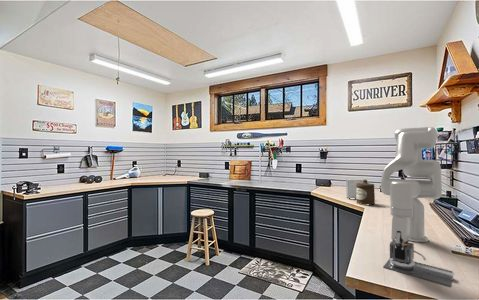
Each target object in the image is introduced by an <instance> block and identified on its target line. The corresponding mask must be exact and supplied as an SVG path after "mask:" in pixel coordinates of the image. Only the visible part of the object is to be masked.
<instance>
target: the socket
mask: <svg viewBox="0 0 479 300" xmlns="http://www.w3.org/2000/svg"><path fill="white" fill-rule="evenodd" d="M395 241H396V239H395V240H391V241H390V243H389V259H390V258H391V259H392V258H393V259H395V260H399V261H403V262H407V263H408V254H409V263H410V264H411V262H412V260H413V261H414V257H415V252H414V251H415V245H414V243H413V242H409V241H408V242H405V243H404V250H405V260H401V259H397V258H395ZM400 244H401V245H402V243H400Z"/></svg>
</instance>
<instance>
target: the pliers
mask: <svg viewBox="0 0 479 300" xmlns="http://www.w3.org/2000/svg"><path fill="white" fill-rule="evenodd" d="M414 254H417V255H419V256H421V258H422V259H423V261H426V257H425V256H424V255H423V254H422V253H420V252H418V251H416V250H414Z"/></svg>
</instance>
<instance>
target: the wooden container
mask: <svg viewBox="0 0 479 300" xmlns="http://www.w3.org/2000/svg"><path fill="white" fill-rule="evenodd" d="M356 187H357V193H356V198H357V199H356V204H358V203H361V204H376V201H375V197H376V196H375V195H376V194H375V184H374V183H371V182H370V183H369V182H368V179H363V183H357V184H356ZM361 204H360V205H361Z"/></svg>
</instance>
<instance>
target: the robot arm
mask: <svg viewBox="0 0 479 300" xmlns="http://www.w3.org/2000/svg"><path fill="white" fill-rule="evenodd" d="M394 139H395V141H396V148H395V154H394V155H395V156H394V157H395V158H394V159H393V160H392V161H390V162H389V163H388V164H387V165H386V166H385V168H384V169H383V170H382V173H381V179H380V191H381V193H382V194H383V195H386V196H389V197H390V201H389V202H390V203H389V204H390V207H389V208H390V216H392V219H391V232H390V233H391V241H393V240H396V241H395V258H397V259H401V260H405V250H404V243H405V242H409V241H410V242H416V243H426V242H428V241H429V237H427V236H426V235H425V233H426V232H425V206H424V204H423V202H422V201H421V200H420V199H429V200H438V199H440V198H441V197H442V194H443V191H442V189H443V188H442V185H443V184H442V168H441V164H440V162H439V161H438V160H436V159H423V151H422V150H424V149H425V150H427V149H433V148H434V147H435V146H436V145H437V139H438V133H437V129H436V128H435V127H432V126H425V127H408V128H407V127H405V128H399V129H397V130H395V132H394ZM398 171H402V172H403V175H404V176H406V177H409V178H410V179H409V178H407V179H403V178H402V179H401V178H391V176H392V175H393V174H394V173H396V172H398ZM412 178H413V179H412ZM414 178H419V179H414ZM420 178H422V179H420ZM423 178H424V179H423ZM426 179H427V180H426ZM400 243H402V245H401V244H400Z"/></svg>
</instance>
